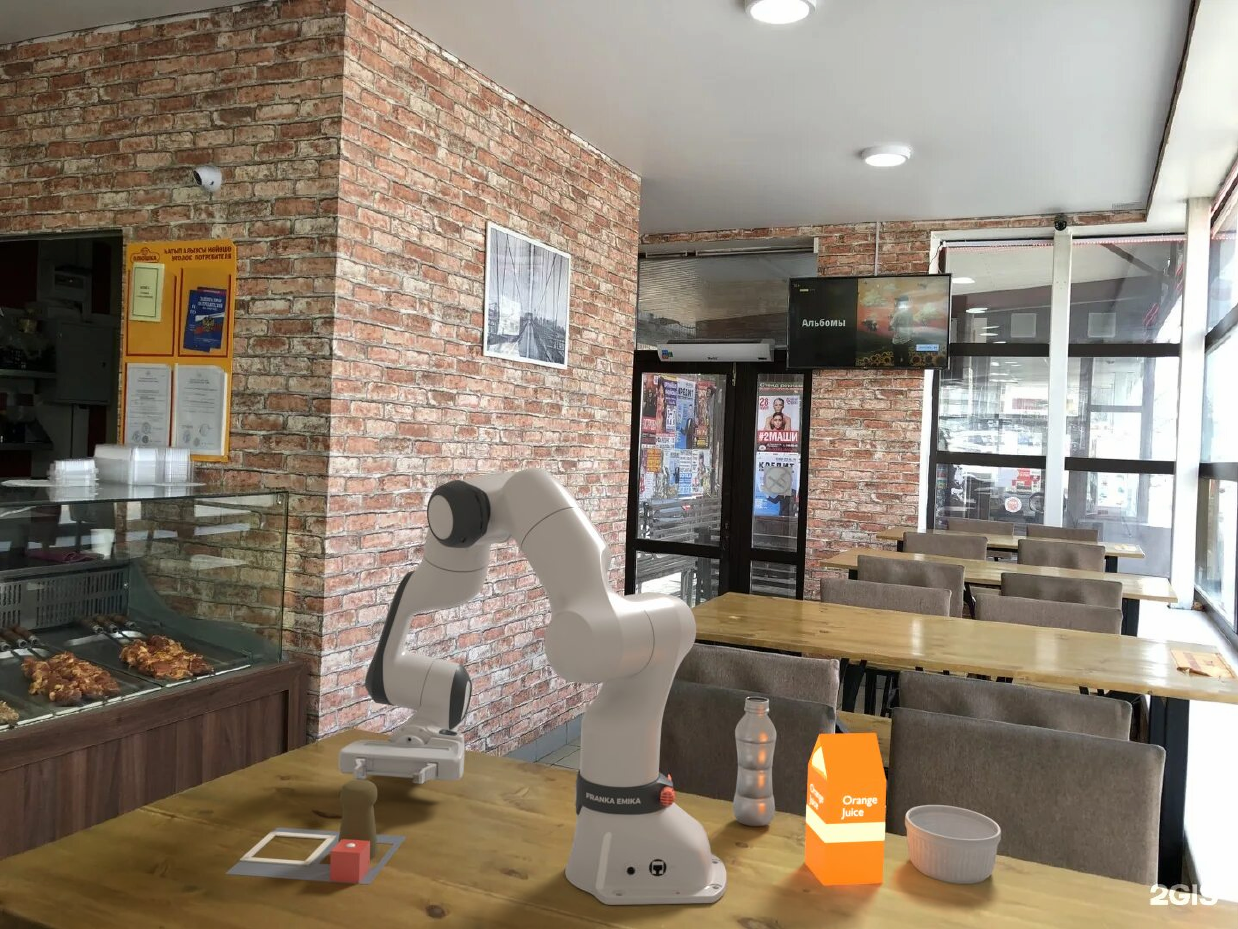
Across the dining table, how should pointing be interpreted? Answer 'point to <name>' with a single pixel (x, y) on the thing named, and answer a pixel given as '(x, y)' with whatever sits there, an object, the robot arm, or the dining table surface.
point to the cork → (359, 813)
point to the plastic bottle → (755, 764)
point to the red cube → (350, 860)
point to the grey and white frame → (311, 865)
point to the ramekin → (952, 843)
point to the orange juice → (846, 810)
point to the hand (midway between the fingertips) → (387, 776)
